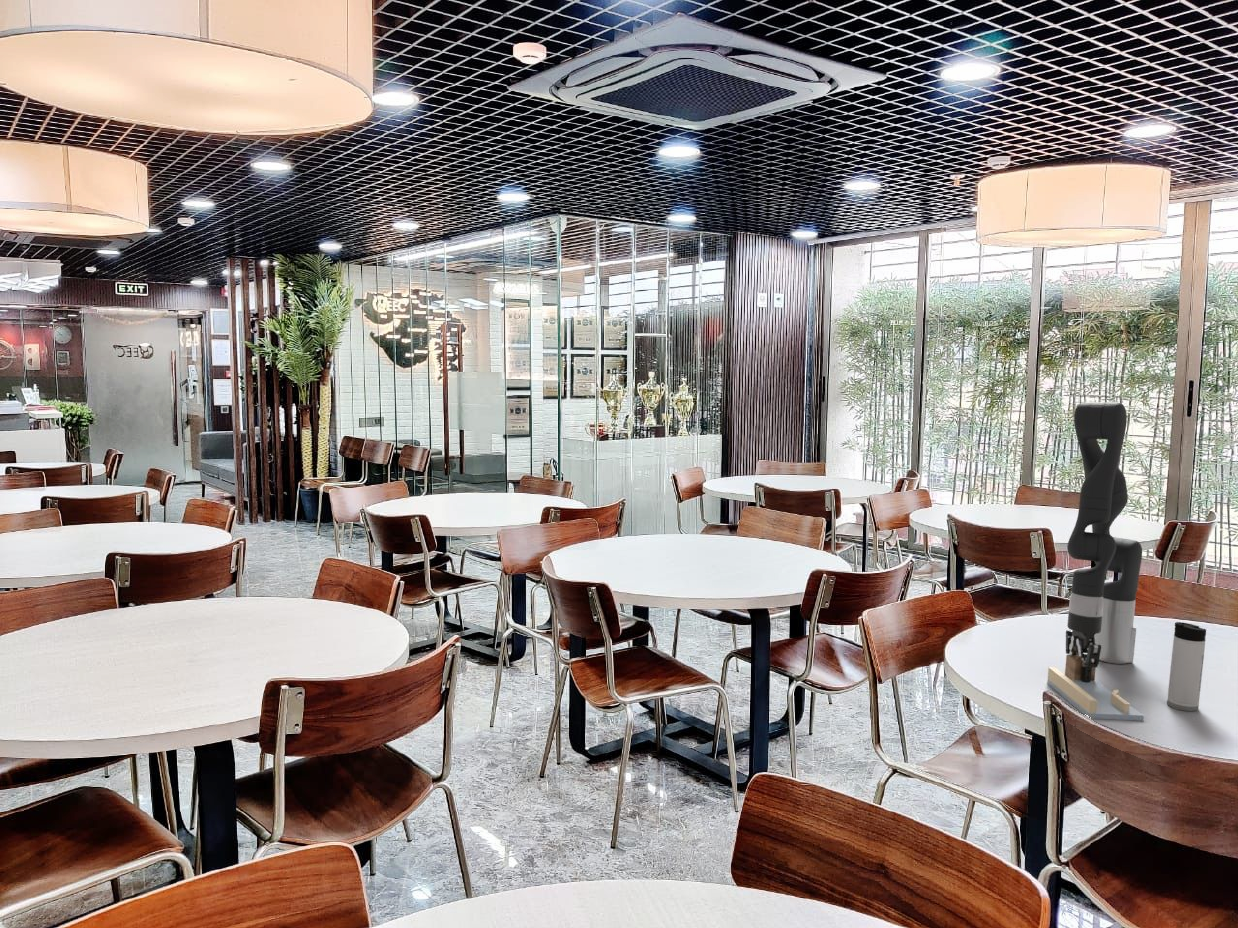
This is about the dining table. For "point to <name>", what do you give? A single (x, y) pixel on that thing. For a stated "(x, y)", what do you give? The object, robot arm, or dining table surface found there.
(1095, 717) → the board
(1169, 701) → the travel mug
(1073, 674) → the walnut box
